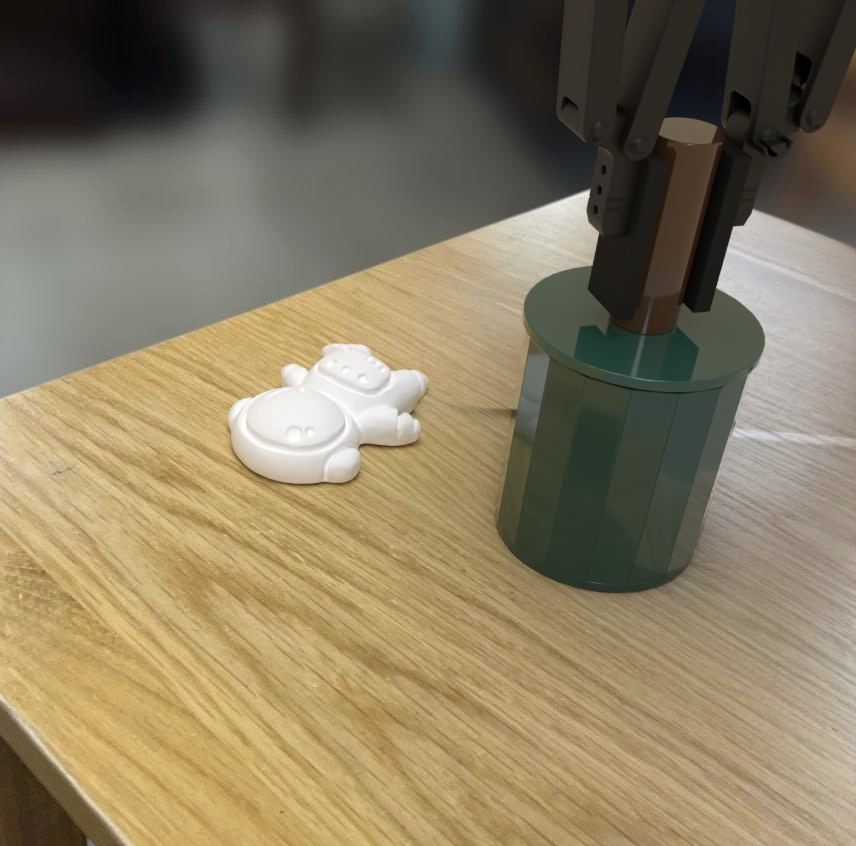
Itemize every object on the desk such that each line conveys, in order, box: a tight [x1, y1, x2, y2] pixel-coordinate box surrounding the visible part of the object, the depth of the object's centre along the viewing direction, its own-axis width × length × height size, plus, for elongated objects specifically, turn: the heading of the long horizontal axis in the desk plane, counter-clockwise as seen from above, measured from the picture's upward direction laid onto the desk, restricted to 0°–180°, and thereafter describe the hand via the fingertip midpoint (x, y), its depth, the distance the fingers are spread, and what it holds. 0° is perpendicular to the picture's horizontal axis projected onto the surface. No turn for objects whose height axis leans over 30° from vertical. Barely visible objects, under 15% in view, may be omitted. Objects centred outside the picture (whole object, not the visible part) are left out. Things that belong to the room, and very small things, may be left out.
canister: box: [495, 331, 753, 593], centre depth 55 cm, size 9×9×10 cm
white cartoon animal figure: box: [227, 342, 430, 485], centre depth 63 cm, size 9×12×3 cm
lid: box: [521, 116, 766, 392], centre depth 49 cm, size 10×10×9 cm
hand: (648, 299), depth 51 cm, fingers closed on lid, 3 cm apart
